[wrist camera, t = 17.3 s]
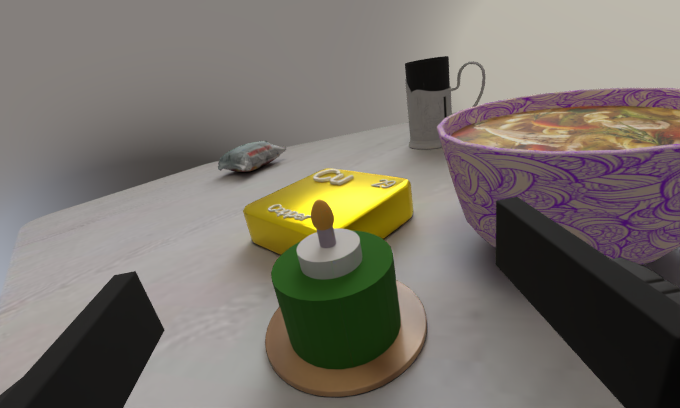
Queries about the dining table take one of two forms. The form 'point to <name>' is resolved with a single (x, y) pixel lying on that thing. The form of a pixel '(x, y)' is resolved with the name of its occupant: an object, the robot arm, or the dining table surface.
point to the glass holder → (430, 99)
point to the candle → (338, 294)
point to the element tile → (341, 195)
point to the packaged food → (250, 156)
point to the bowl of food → (575, 165)
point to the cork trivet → (357, 377)
